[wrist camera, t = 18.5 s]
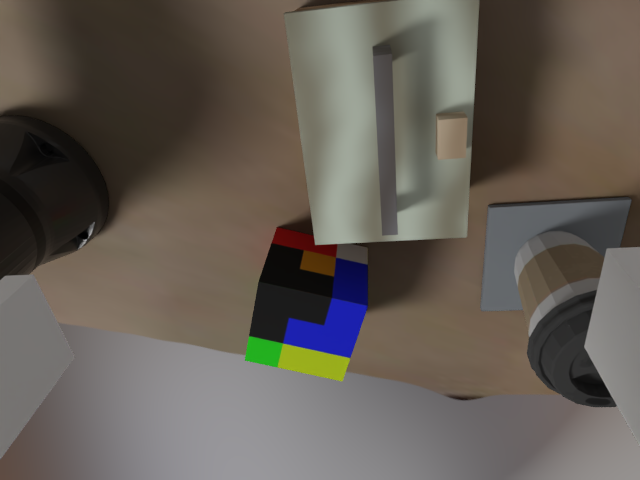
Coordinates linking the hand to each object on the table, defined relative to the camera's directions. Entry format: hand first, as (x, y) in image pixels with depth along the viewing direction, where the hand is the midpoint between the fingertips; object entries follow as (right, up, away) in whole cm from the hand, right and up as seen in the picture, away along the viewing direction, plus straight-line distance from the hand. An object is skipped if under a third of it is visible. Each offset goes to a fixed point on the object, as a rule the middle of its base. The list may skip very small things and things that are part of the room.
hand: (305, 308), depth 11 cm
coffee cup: (+24, 0, +38) cm, 45 cm away
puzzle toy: (0, -2, +42) cm, 42 cm away
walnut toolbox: (+6, +14, +32) cm, 35 cm away
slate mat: (+24, 0, +38) cm, 45 cm away
